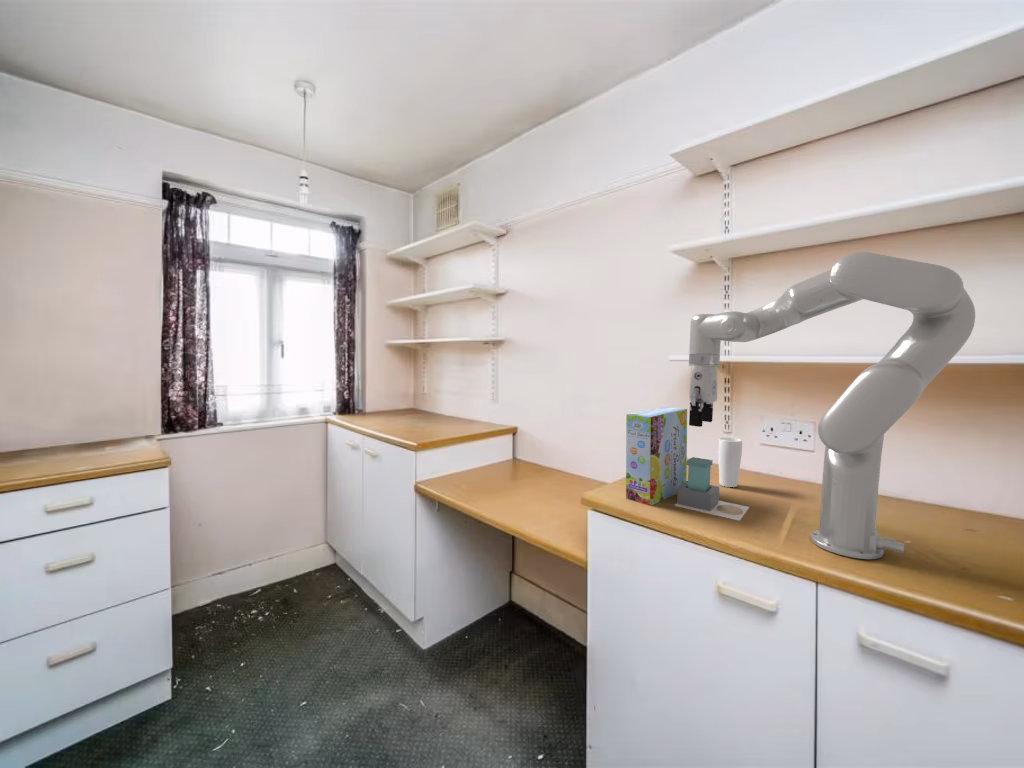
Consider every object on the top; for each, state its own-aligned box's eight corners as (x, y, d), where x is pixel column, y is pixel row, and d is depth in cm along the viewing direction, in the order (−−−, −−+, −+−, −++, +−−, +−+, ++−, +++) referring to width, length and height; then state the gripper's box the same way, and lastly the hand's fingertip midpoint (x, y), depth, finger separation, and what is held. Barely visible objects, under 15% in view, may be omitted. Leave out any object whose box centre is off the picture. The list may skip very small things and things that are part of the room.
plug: (710, 502, 116) (712, 460, 115) (705, 508, 112) (707, 464, 111) (691, 498, 120) (692, 457, 119) (685, 503, 115) (687, 460, 115)
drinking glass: (741, 484, 136) (743, 438, 134) (738, 490, 130) (741, 442, 129) (718, 480, 139) (720, 436, 138) (714, 486, 134) (716, 439, 133)
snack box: (660, 485, 134) (663, 405, 132) (687, 492, 128) (690, 408, 126) (622, 501, 120) (625, 412, 118) (650, 510, 113) (653, 415, 111)
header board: (749, 510, 113) (750, 490, 113) (739, 524, 104) (740, 502, 104) (687, 497, 123) (688, 479, 123) (673, 508, 114) (674, 489, 114)
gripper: (710, 361, 104) (706, 429, 105) (727, 360, 117) (723, 421, 119) (679, 360, 108) (676, 426, 110) (698, 360, 122) (695, 418, 123)
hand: (700, 423), depth 114 cm, fingers open, 9 cm apart
